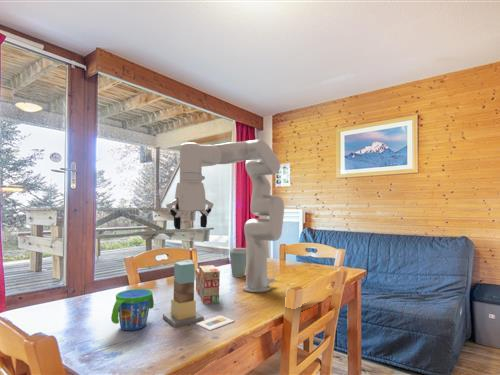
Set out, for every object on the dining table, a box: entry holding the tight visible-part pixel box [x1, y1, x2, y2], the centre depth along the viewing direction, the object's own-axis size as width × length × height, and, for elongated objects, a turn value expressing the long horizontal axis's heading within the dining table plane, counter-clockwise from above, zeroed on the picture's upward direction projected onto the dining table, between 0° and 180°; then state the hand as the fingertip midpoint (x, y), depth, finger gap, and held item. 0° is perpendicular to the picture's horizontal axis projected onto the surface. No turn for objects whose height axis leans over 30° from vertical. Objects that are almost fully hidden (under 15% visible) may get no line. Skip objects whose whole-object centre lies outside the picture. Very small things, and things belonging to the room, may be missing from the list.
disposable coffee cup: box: [228, 247, 246, 278], centre depth 163 cm, size 11×11×15 cm
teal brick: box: [173, 260, 196, 284], centre depth 101 cm, size 5×5×6 cm
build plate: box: [162, 298, 205, 328], centre depth 100 cm, size 10×10×6 cm
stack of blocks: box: [195, 264, 221, 305], centre depth 127 cm, size 21×6×12 cm, turn 18°
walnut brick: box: [173, 280, 195, 303], centre depth 100 cm, size 5×5×6 cm
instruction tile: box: [195, 314, 235, 331], centre depth 97 cm, size 10×7×1 cm
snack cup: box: [110, 288, 155, 331], centre depth 94 cm, size 16×10×10 cm
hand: (190, 228), depth 105 cm, fingers open, 9 cm apart
